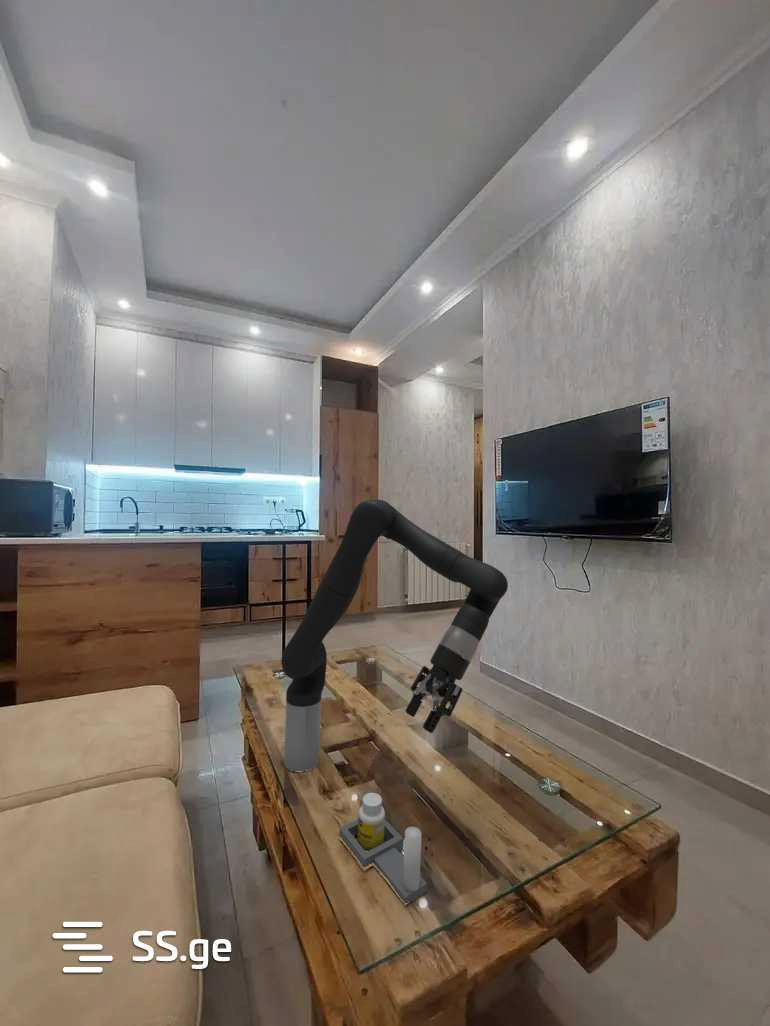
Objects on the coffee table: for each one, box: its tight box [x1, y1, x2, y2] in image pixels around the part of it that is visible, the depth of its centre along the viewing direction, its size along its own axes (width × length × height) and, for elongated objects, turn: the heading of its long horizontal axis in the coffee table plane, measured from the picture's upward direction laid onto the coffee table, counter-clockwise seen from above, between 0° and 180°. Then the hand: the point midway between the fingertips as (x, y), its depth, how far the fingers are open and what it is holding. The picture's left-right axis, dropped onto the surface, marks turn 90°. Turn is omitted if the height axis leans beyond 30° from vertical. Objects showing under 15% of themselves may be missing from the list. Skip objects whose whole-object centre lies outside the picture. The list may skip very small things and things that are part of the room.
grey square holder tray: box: [338, 818, 428, 903], centre depth 84 cm, size 19×9×11 cm, turn 36°
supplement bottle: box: [357, 792, 386, 851], centre depth 88 cm, size 5×5×10 cm
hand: (417, 722), depth 89 cm, fingers open, 8 cm apart
